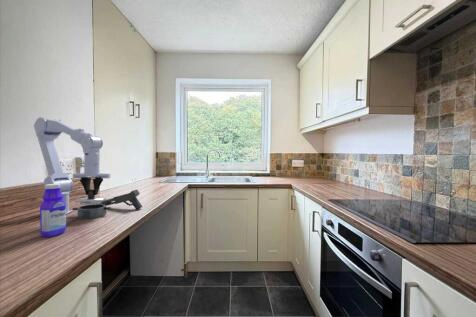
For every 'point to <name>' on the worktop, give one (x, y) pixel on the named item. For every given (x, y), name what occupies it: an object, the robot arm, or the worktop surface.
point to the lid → (90, 198)
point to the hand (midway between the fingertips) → (91, 194)
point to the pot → (91, 211)
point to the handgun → (125, 199)
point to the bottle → (52, 211)
